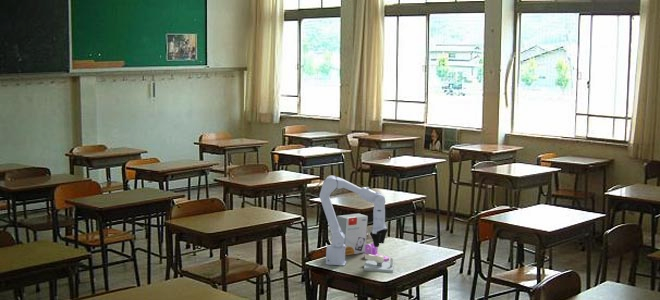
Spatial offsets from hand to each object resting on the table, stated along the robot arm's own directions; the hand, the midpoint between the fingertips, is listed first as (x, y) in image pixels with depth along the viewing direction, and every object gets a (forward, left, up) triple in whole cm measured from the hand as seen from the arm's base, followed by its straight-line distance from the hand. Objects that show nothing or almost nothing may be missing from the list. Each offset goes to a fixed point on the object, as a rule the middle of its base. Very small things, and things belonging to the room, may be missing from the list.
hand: (379, 244), depth 402 cm
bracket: (-1, +14, -11) cm, 18 cm away
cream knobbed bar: (-2, -2, -8) cm, 8 cm away
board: (+1, -4, -11) cm, 11 cm away
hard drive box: (-16, +21, -11) cm, 29 cm away
